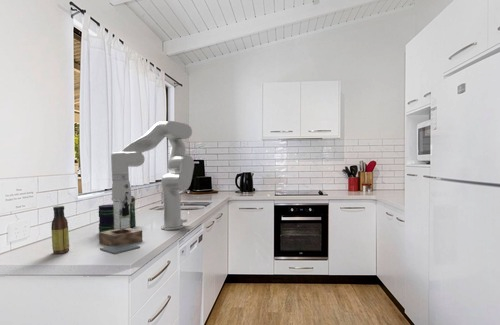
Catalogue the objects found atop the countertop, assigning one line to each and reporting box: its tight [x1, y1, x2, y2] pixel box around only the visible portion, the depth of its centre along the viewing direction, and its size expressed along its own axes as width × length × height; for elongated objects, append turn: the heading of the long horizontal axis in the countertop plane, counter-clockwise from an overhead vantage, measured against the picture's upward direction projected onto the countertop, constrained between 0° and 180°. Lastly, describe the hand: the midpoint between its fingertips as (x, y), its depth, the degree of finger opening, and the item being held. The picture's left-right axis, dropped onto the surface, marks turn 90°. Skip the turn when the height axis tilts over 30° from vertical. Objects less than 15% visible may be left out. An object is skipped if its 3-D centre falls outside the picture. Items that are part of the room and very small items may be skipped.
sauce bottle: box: [51, 205, 70, 255], centre depth 137 cm, size 7×6×20 cm
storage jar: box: [98, 203, 115, 233], centre depth 174 cm, size 10×10×15 cm
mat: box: [99, 243, 141, 255], centre depth 141 cm, size 12×12×1 cm
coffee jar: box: [130, 195, 137, 228], centre depth 189 cm, size 10×8×19 cm
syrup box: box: [112, 199, 132, 230], centre depth 154 cm, size 6×6×14 cm
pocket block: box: [98, 227, 143, 246], centre depth 154 cm, size 14×14×5 cm
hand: (121, 214), depth 154 cm, fingers closed on syrup box, 5 cm apart
